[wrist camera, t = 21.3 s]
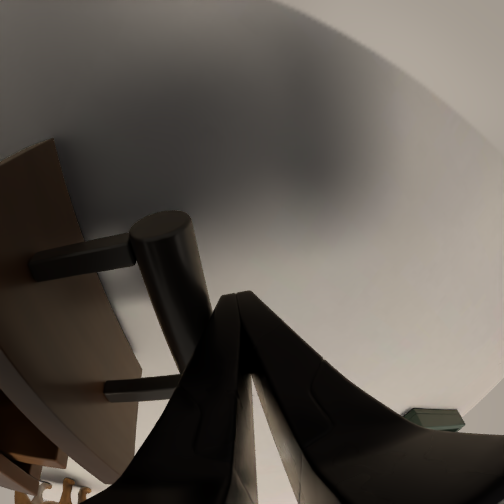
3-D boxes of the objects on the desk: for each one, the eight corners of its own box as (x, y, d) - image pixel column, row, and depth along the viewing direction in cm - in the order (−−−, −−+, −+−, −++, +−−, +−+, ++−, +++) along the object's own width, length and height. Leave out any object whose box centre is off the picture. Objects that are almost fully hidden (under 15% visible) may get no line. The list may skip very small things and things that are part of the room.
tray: (413, 408, 22) (423, 427, 20) (457, 409, 25) (465, 424, 23) (317, 477, 27) (322, 493, 25) (373, 472, 30) (378, 486, 28)
